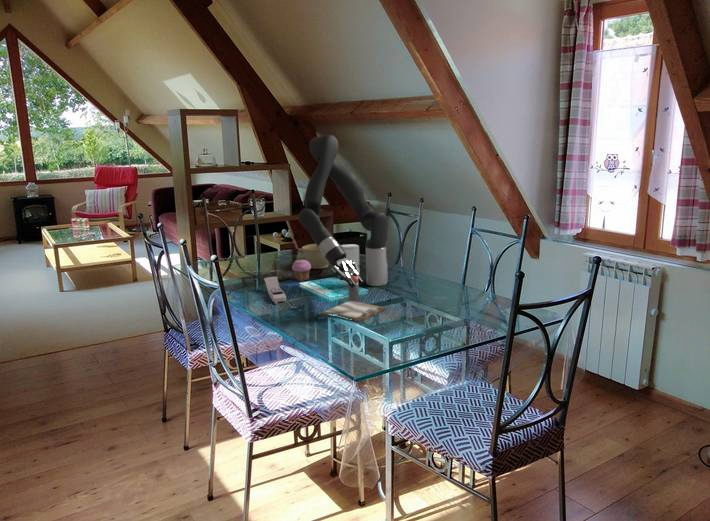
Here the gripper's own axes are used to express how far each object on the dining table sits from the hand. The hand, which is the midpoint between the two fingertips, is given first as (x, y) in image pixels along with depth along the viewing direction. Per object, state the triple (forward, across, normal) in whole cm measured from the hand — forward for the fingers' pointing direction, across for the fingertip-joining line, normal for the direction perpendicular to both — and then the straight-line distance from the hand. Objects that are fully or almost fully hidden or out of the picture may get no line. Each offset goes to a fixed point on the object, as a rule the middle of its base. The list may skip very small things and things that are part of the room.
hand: (357, 284), depth 228 cm
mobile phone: (-23, 0, +40) cm, 46 cm away
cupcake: (-29, +25, +45) cm, 59 cm away
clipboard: (+7, 0, +9) cm, 11 cm away
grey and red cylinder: (+3, 0, +6) cm, 6 cm away
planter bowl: (-36, +49, +52) cm, 80 cm away
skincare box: (-19, +44, +35) cm, 59 cm away
